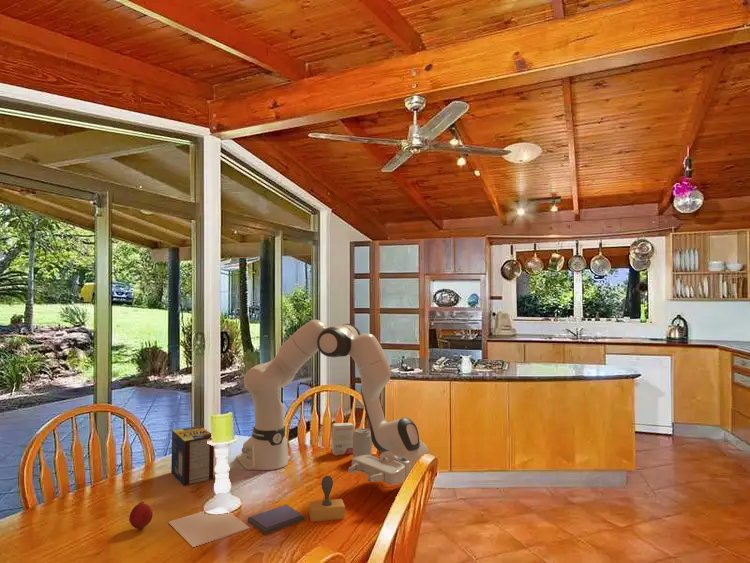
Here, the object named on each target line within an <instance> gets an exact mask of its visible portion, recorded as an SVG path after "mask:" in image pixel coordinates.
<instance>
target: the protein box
mask: <svg viewBox="0 0 750 563" xmlns="http://www.w3.org/2000/svg"><path fill="white" fill-rule="evenodd" d="M211 434H212V433H211V432H210V431H208V430H207V429H205V428H204V427H202V426H201V425H197V426H192V427H191V426H190V427H184V428H179V429H173V430H171V461H170V462H171V463H170V464H171V469H170V470H171V471H170V472H171V474H172V475H173V476H174V477H175V478H176V479H177V481H178V482H179V483H180V484H181V485H182V486H183V487H186V486H191V485H195V484H200V483H202V482H203V483H204V482H208V481H213V480H214V473H215V472H214V470H215V469H214V468H215V465H214V462H215V457H214V456H215V455H214V454H215V446H214V447H213V446H211V445H209V444H207V440H208V439H209V438H210V437H211Z"/></svg>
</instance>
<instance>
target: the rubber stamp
mask: <svg viewBox="0 0 750 563" xmlns="http://www.w3.org/2000/svg"><path fill="white" fill-rule="evenodd" d="M333 486H334V480H333V477H331V475H326V476H323V478H322V479H321V488H322V492H323V494H324V500H313V501H309V504H308V505H309V506H308V511H309V512H308V514H309V519H310V522H312V523H314V522H322V521H323V522H325V521H335V520H345V519H346V518H345V517H346V506H345V503H344V501H343V499H342V498H336V499H330V495H331V491H332V488H333Z"/></svg>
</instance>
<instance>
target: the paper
mask: <svg viewBox="0 0 750 563" xmlns="http://www.w3.org/2000/svg"><path fill="white" fill-rule="evenodd" d="M204 511H205V510H202V511H200V512H199V511H198V512H196V513H193V514H189V515H187V516H183V517H179V518H176V519H172V520H170V521H167V523H169V524H170V525H171V526H172V527H173V528H174V529H175V530H176V531H177V532H178V533H179V534H180V535H181V536H182V537H183V538H184V539H185V540H186V541H187V542H188V543H189V544H190V545H191V546H192V547H195V548H197V547H196V546H198V547H200V546H199V545H201V546H203V545H202V544H204V545H206V544H205V543H207V544H209V543H211V541H212V542H215V541H218V540H220V539H223V538H226V537H229V536H233V535H235V534H237V533H240V532H243V531H247V530H250V526H249V525H248V524H246V523H245V522H244V521H242V520H240V518H238V517H237V516H236V515H234V514H233V513H231V512H230V513H228V514H221V515H208V514H204ZM169 524H168V525H169ZM171 526H170V527H171ZM172 527H171V528H172ZM173 528H172V529H173ZM175 530H174V531H175ZM176 531H175V532H176ZM177 532H176V533H177ZM178 533H177V534H178ZM179 534H178V535H179ZM181 536H180V537H181ZM182 537H181V538H182ZM183 538H182V539H183ZM184 539H183V540H184ZM185 540H184V541H185ZM214 540H215V541H214ZM186 541H185V542H186ZM187 542H186V543H187ZM208 542H209V543H208ZM188 543H187V544H188ZM189 544H188V545H189ZM190 545H189V546H190ZM191 546H190V547H191Z"/></svg>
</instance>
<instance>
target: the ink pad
mask: <svg viewBox="0 0 750 563" xmlns="http://www.w3.org/2000/svg"><path fill="white" fill-rule="evenodd" d="M305 520H306V515H304V514H302V513H300V512H299V511H298V510H296V509H294V508H293V507H290V506H289V505H288V504H284V505H281V506H278V507H275V508H272V509H269V510H267V511H263V512H260V513H257V514H253V515H251V516H248V517H247V523H249V524H250V525H251V526H252V527H254V528H256V529H257V530H258V531H259V532H261V533H262V534H263V535H264V536H265V535H268V534H269V535H270V534H271V533H274V532H277V531H280V530H283V529H285V528H288V527H290V526H293V525H296V524H299V523H301V522H304V521H305Z"/></svg>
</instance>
